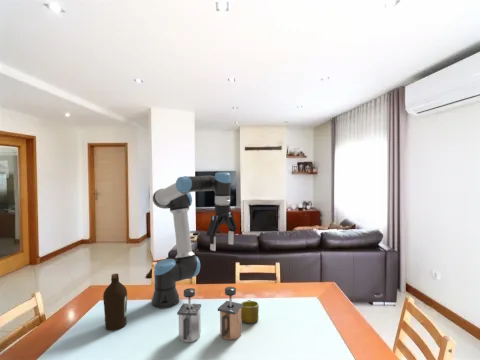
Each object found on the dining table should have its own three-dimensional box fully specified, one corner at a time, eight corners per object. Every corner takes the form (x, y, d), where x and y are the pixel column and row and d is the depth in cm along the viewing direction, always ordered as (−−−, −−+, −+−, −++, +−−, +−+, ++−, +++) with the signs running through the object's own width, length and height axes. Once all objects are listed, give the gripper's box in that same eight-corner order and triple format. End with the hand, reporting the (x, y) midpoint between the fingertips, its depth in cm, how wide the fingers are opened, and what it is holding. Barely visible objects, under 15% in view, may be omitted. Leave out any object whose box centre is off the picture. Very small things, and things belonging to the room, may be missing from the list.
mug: (260, 323, 137) (254, 301, 140) (240, 327, 139) (235, 306, 142) (265, 315, 149) (259, 295, 151) (246, 320, 151) (241, 300, 153)
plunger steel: (180, 331, 129) (179, 291, 129) (189, 325, 134) (189, 286, 133) (189, 336, 126) (189, 294, 125) (199, 329, 131) (198, 289, 130)
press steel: (195, 347, 122) (195, 316, 122) (174, 345, 123) (174, 315, 123) (202, 331, 134) (201, 303, 134) (183, 330, 135) (182, 303, 135)
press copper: (232, 345, 123) (232, 315, 123) (213, 340, 127) (213, 311, 127) (244, 331, 134) (244, 304, 133) (226, 327, 138) (226, 300, 137)
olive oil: (104, 333, 133) (102, 280, 132) (103, 322, 142) (102, 272, 141) (128, 328, 137) (127, 276, 136) (126, 317, 147) (125, 269, 146)
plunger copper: (221, 329, 131) (221, 289, 130) (229, 323, 136) (229, 285, 135) (231, 333, 127) (231, 292, 127) (239, 327, 132) (239, 288, 131)
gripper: (210, 207, 129) (210, 254, 130) (243, 202, 148) (243, 242, 150) (198, 206, 133) (198, 251, 134) (232, 201, 153) (232, 240, 154)
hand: (222, 247), depth 142 cm, fingers open, 13 cm apart
